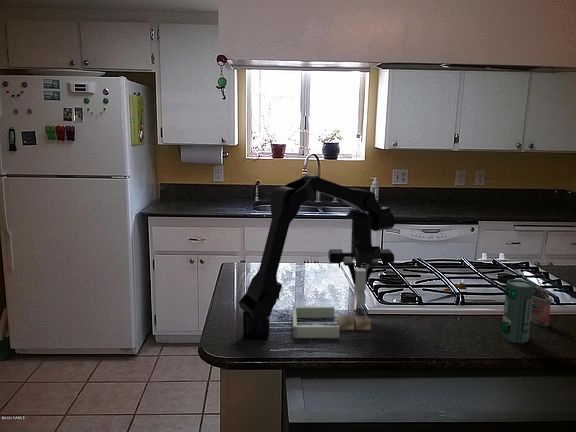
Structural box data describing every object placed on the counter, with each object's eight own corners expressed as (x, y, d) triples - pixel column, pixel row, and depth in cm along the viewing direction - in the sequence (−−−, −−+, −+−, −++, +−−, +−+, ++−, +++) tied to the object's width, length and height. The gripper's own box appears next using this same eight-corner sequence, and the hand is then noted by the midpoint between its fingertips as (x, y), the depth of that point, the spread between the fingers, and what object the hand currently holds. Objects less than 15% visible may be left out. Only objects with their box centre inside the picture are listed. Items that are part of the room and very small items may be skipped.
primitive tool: (423, 304, 147) (424, 293, 146) (411, 298, 152) (412, 288, 151) (467, 294, 156) (468, 284, 155) (455, 289, 160) (456, 279, 160)
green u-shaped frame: (293, 337, 123) (293, 327, 122) (292, 316, 136) (292, 306, 136) (339, 337, 123) (339, 327, 122) (333, 316, 136) (334, 306, 136)
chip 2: (355, 330, 128) (356, 322, 127) (353, 324, 131) (353, 316, 131) (370, 330, 128) (370, 321, 127) (367, 324, 132) (367, 315, 131)
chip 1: (339, 330, 127) (339, 322, 127) (337, 324, 131) (337, 316, 131) (353, 330, 128) (354, 321, 127) (351, 324, 132) (351, 315, 131)
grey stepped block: (356, 304, 136) (357, 274, 135) (352, 293, 145) (353, 265, 143) (366, 304, 136) (368, 274, 135) (362, 293, 145) (362, 265, 143)
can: (505, 330, 127) (510, 277, 124) (530, 337, 123) (536, 282, 120) (499, 338, 122) (504, 283, 120) (524, 345, 119) (530, 289, 116)
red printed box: (518, 316, 137) (521, 283, 135) (527, 314, 138) (530, 282, 136) (543, 327, 129) (547, 292, 127) (551, 325, 131) (555, 291, 129)
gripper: (332, 239, 129) (331, 293, 132) (400, 239, 129) (397, 293, 132) (328, 230, 140) (327, 280, 143) (391, 230, 140) (388, 280, 143)
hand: (359, 283), depth 140 cm, fingers closed on grey stepped block, 3 cm apart
